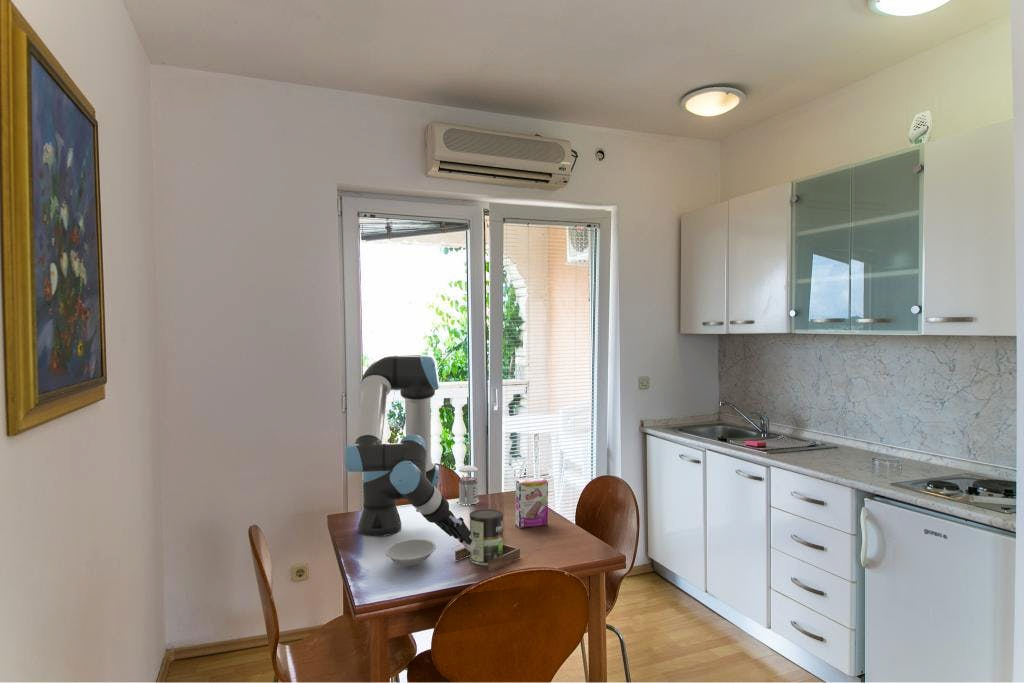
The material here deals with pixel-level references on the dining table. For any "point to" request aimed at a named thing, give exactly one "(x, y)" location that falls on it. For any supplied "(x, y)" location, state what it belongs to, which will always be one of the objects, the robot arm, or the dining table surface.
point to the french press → (468, 485)
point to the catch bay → (509, 556)
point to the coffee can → (486, 535)
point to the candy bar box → (531, 503)
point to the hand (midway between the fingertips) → (472, 547)
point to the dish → (410, 551)
